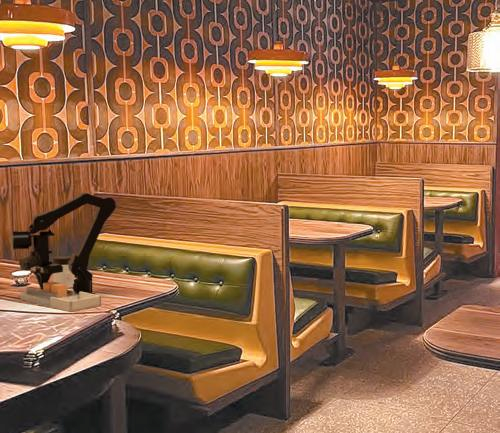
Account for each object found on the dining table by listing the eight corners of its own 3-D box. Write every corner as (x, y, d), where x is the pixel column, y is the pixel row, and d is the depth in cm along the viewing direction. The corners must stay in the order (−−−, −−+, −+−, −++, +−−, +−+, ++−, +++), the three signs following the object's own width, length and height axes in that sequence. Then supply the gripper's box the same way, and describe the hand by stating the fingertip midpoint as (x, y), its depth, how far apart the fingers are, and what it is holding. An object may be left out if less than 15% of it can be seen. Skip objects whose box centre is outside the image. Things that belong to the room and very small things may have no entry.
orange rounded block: (52, 292, 261) (52, 281, 260) (59, 293, 258) (58, 282, 258) (43, 293, 258) (42, 283, 257) (49, 295, 255) (49, 284, 255)
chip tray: (81, 300, 257) (80, 291, 257) (101, 305, 249) (101, 295, 249) (50, 306, 247) (50, 297, 247) (70, 311, 239) (70, 301, 239)
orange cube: (60, 293, 257) (60, 283, 257) (67, 295, 255) (66, 284, 254) (51, 295, 254) (50, 284, 254) (57, 297, 252) (57, 286, 251)
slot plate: (50, 294, 269) (50, 283, 269) (80, 300, 257) (80, 290, 257) (20, 299, 260) (20, 288, 259) (50, 306, 247) (49, 295, 247)
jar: (60, 289, 278) (59, 259, 277) (48, 286, 283) (47, 257, 282) (79, 286, 285) (78, 256, 284) (67, 283, 290) (66, 254, 289)
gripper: (8, 248, 260) (9, 289, 261) (36, 252, 248) (37, 296, 249) (34, 245, 268) (36, 285, 270) (63, 249, 256) (64, 291, 257)
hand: (42, 289), depth 261 cm, fingers closed
